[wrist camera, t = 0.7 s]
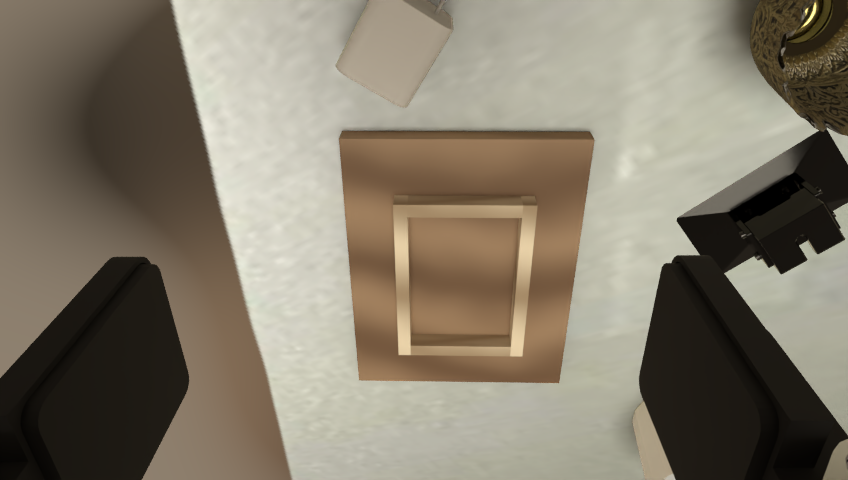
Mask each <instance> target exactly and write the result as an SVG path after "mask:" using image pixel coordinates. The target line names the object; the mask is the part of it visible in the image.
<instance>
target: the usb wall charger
mask: <svg viewBox="0 0 848 480" xmlns="http://www.w3.org/2000/svg"><path fill="white" fill-rule="evenodd" d="M445 1H446V0H441V1H440V2H439V4H438V6H435V5H434V4H432V3H431V2H429V1H427V0H369V1H368V3H367V5H366V7H365V9H364V11H363V13H362V15H361V17H360V19H359V21H358V23H357V25H356V26H355V28H354V30H353V32H352V34H351V36H350V38H349V40H348V42H347V44H346V46H345V48H344V50H343V52H342V54H341V55H340V57H339V59H338V61H337V63H336V68H337V69H338V70H339V71H340V72H341V73H342V74H344V75H345V76H347V77H349V78H350V79H352V80H354V81H356V82H357V83H359V84H361V85H362V86H364V87H366V88H368V89H369V90H371V91H373V92H374V93H376V94H378V95H380V96H381V97H383V98H385V99H386V100H388V101H390V102H392V103H393V104H395V105H397V106H400V107H403V108H406V107H407V106H408V104H409V103H410V101H411V99H412V98H413V96H414V94H415V93H416V91H417V89H418V88H419V86H420V84H421V83H422V81H423V79H424V78H425V76H426V74H427V73H428V71H429V69H430V68H431V66H432V64H433V63H434V61H435V59H436V58H437V56H438V54H439V53H440V51H441V49H442V48H443V46H444V44H445V43H446V41H447V39H448V38H449V36H450V34H451V33H452V31H453V19H452V17H451V16H450V15H449V14H447V13H446V12H445V11H443V10H442V9H441V8H442V6H443V4H444V2H445Z"/></svg>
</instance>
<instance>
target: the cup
mask: <svg viewBox="0 0 848 480" xmlns="http://www.w3.org/2000/svg"><path fill="white" fill-rule="evenodd" d="M750 47H751V52H752V56H753V59H754V61H755V64H756V66H757V68H758V70H759V71H760V73H761V74H762V76H763V77H764V78H765V80H766V81H767V82H768V83H769V85H770V86H771V87H772V88H773V89H774V90H775V91H776V92H777V93H778V94H779V95H780V96H781V97H782V98H783V99H784V100H785V101H786V102H787V103H788V104H789V105H790V106H791V107H792V108H793V109H794V111H795V112H796V113H797V114H798V115H799V116H800V117H802V118H804V119H806V120H807V121H808V122H809V123H810V124H811V125H812V126H813V127H814V128H816V129H818V130H820V131H822V132H824V130H825V129H827V127H828V128H829V129H831V130H833V131H835V132H837V133H839V134H842V135H846V136H848V0H760V2H759V4H758V6H757V8H756V11H755V13H754V16H753V20H752V23H751V30H750Z"/></svg>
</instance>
